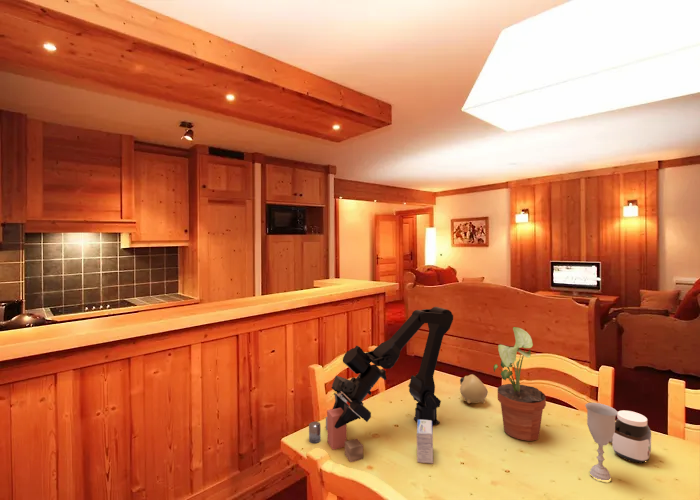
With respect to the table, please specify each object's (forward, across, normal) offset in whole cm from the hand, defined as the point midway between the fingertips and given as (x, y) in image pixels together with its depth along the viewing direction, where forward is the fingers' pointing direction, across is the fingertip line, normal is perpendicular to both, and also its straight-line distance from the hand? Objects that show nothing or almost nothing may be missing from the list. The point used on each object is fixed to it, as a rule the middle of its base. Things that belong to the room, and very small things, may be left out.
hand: (332, 423), depth 111 cm
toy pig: (-37, -5, +47) cm, 60 cm away
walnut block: (+2, +8, +7) cm, 11 cm away
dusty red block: (+4, 0, +6) cm, 7 cm away
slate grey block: (+2, -8, +7) cm, 11 cm away
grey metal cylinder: (+8, -5, +2) cm, 9 cm away
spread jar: (-49, +39, +59) cm, 86 cm away
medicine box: (-11, +16, +21) cm, 28 cm away
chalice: (-36, +43, +46) cm, 73 cm away
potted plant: (-35, +19, +45) cm, 60 cm away
